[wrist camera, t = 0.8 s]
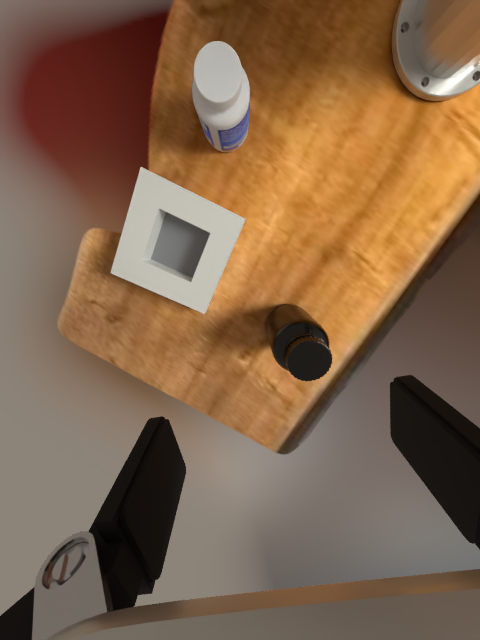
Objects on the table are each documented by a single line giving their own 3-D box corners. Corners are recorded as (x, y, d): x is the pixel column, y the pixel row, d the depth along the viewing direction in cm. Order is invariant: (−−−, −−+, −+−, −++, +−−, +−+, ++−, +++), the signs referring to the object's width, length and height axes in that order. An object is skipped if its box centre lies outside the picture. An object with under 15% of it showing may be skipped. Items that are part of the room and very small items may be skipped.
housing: (151, 175, 30) (140, 166, 27) (245, 221, 31) (245, 218, 28) (123, 270, 34) (110, 273, 30) (208, 307, 35) (204, 314, 32)
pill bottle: (255, 110, 28) (261, 43, 19) (240, 160, 29) (239, 122, 20) (210, 91, 27) (195, 13, 18) (197, 144, 29) (177, 97, 20)
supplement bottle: (293, 352, 37) (316, 400, 26) (256, 332, 36) (263, 373, 25) (318, 316, 36) (355, 351, 24) (280, 294, 35) (299, 319, 23)
